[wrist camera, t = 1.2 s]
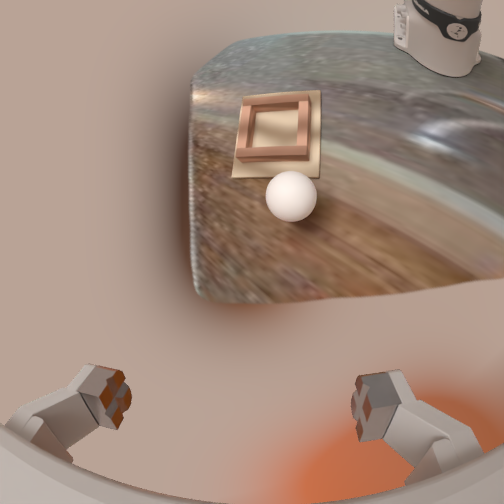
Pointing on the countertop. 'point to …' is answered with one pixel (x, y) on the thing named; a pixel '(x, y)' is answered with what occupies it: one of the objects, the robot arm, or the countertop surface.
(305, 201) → the lightbulb
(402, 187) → the countertop surface
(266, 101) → the socket block
